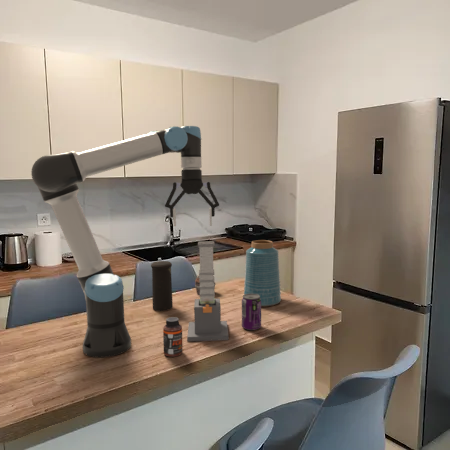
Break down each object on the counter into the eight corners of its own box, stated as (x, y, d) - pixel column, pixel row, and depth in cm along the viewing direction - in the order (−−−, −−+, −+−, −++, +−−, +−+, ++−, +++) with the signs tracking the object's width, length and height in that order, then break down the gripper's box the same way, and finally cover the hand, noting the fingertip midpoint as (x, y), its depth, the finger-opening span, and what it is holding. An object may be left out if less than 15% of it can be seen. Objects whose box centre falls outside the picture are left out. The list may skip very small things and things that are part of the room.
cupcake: (193, 296, 187) (192, 275, 186) (197, 290, 196) (197, 270, 195) (213, 297, 185) (213, 275, 184) (217, 291, 195) (216, 270, 194)
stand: (187, 341, 137) (186, 307, 136) (189, 325, 151) (188, 294, 149) (228, 340, 138) (228, 306, 136) (226, 324, 152) (226, 293, 150)
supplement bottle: (174, 359, 124) (173, 323, 122) (159, 355, 127) (158, 320, 126) (186, 352, 129) (185, 317, 127) (171, 347, 132) (170, 314, 131)
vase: (283, 307, 170) (283, 244, 166) (244, 308, 170) (243, 245, 167) (278, 295, 186) (278, 238, 183) (243, 296, 186) (242, 238, 183)
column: (199, 309, 140) (197, 244, 137) (199, 304, 146) (198, 241, 143) (215, 309, 140) (214, 243, 138) (215, 304, 146) (214, 241, 143)
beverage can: (260, 332, 144) (259, 299, 143) (240, 330, 146) (240, 298, 144) (262, 324, 151) (262, 293, 150) (243, 323, 152) (243, 292, 151)
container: (177, 306, 173) (176, 260, 170) (163, 313, 165) (161, 265, 163) (162, 303, 177) (160, 258, 175) (147, 309, 170) (145, 262, 167)
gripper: (156, 169, 146) (158, 227, 149) (225, 168, 147) (226, 226, 150) (158, 169, 154) (160, 224, 156) (224, 168, 155) (225, 223, 158)
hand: (192, 225), depth 153 cm, fingers open, 13 cm apart
